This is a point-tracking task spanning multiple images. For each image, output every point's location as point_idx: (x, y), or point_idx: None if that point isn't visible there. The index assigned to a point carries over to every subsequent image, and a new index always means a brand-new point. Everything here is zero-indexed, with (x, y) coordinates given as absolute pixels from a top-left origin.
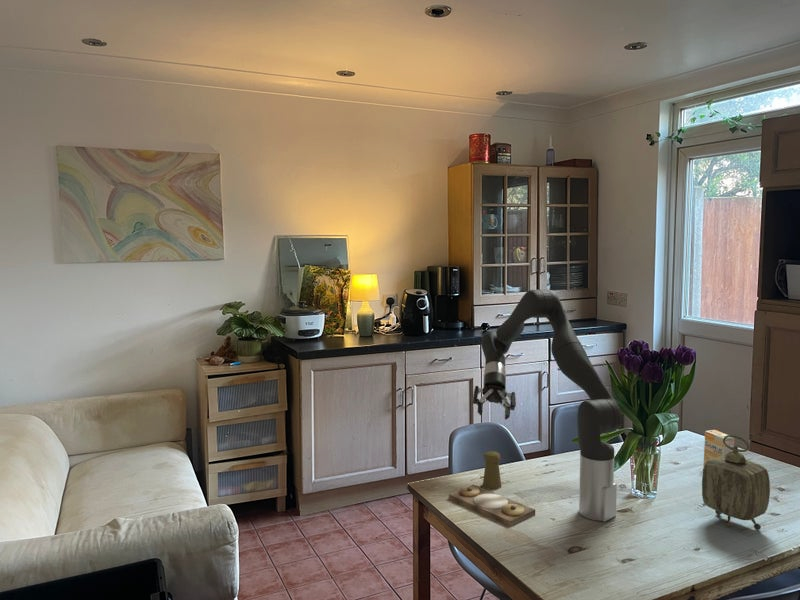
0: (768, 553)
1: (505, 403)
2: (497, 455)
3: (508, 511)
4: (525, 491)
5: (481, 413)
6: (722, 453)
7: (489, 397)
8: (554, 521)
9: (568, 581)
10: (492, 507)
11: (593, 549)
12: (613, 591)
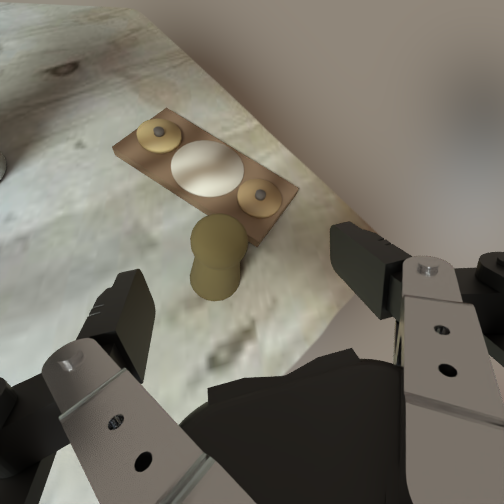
0: None
1: (113, 362)
2: (199, 221)
3: (169, 122)
4: (124, 259)
5: (333, 237)
6: None
7: (373, 362)
8: (78, 136)
9: (96, 19)
10: (201, 142)
11: (31, 69)
12: (41, 6)
